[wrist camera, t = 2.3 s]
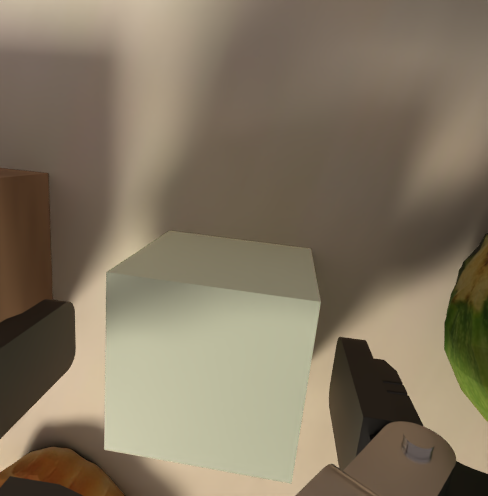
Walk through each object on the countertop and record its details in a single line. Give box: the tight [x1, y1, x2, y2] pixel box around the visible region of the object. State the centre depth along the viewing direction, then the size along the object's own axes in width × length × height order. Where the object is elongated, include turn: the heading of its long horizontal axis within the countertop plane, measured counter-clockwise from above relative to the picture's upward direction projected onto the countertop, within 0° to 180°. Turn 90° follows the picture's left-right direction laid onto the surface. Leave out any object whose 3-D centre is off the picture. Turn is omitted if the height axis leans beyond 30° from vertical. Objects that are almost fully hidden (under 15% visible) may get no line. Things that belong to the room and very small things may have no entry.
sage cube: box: [104, 231, 321, 484], centre depth 12 cm, size 5×5×5 cm
